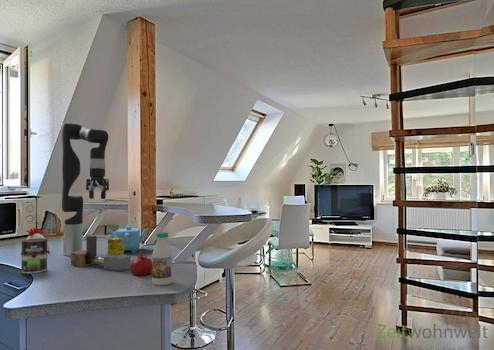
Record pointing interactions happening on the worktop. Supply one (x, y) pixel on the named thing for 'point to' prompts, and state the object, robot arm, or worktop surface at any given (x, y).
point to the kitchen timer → (36, 236)
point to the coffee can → (34, 256)
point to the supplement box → (116, 246)
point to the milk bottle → (162, 261)
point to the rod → (92, 251)
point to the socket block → (79, 259)
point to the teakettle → (130, 237)
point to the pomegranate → (141, 265)
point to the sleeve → (117, 262)
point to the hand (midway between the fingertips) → (97, 198)
